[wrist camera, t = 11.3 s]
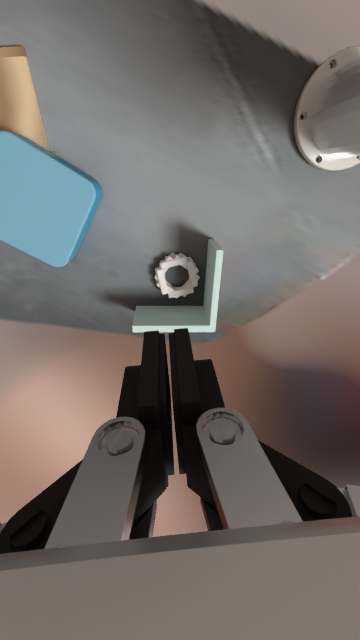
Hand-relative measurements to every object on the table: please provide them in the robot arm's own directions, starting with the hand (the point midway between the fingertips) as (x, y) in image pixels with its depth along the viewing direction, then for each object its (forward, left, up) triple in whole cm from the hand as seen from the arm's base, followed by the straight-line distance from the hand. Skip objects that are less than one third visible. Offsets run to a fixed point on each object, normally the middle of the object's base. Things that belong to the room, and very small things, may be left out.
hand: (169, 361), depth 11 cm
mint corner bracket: (-1, +8, -34) cm, 35 cm away
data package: (+12, -9, -30) cm, 34 cm away
